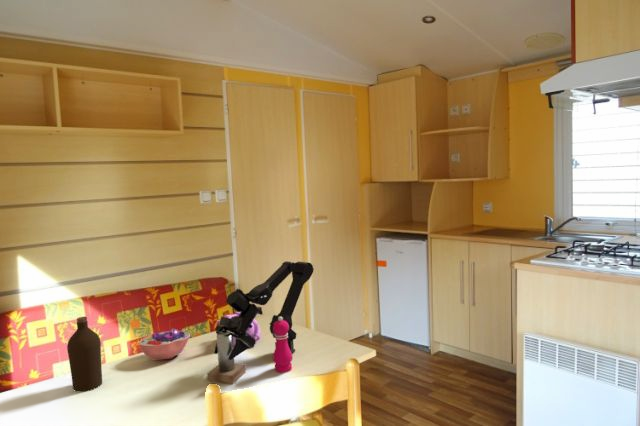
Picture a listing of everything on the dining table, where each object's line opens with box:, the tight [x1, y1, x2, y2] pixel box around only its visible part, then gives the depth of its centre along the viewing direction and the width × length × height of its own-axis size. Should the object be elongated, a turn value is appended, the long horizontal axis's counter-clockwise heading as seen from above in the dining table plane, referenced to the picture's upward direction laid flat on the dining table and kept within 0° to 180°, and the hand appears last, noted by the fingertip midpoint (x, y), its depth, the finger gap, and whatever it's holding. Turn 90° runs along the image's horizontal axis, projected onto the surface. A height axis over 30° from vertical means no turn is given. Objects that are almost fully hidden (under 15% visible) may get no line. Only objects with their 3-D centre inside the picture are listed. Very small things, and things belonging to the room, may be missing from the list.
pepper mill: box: [272, 316, 293, 374], centre depth 169 cm, size 7×7×20 cm
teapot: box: [216, 311, 262, 348], centre depth 199 cm, size 22×22×14 cm
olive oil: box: [66, 316, 103, 392], centre depth 163 cm, size 11×11×25 cm
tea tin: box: [216, 332, 235, 372], centre depth 165 cm, size 6×6×12 cm
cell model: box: [138, 328, 191, 361], centre depth 188 cm, size 17×20×11 cm
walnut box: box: [206, 363, 246, 385], centre depth 165 cm, size 10×10×3 cm
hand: (222, 356), depth 164 cm, fingers open, 9 cm apart
